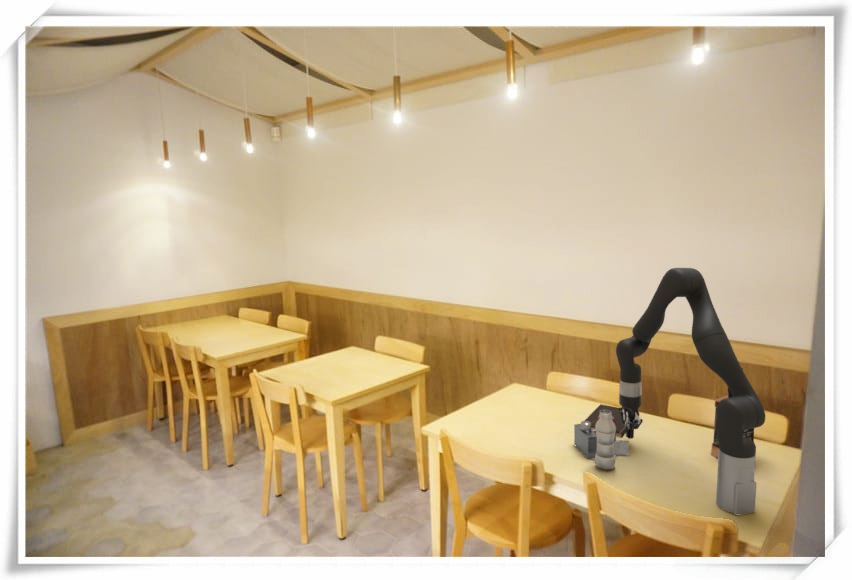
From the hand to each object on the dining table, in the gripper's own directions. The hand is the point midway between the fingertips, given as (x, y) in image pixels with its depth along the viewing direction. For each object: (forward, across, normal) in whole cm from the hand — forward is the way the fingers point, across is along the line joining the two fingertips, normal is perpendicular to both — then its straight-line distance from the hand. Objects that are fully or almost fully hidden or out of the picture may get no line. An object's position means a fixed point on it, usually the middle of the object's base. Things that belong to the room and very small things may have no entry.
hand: (629, 437), depth 200 cm
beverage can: (+3, 0, +9) cm, 10 cm away
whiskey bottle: (+3, -17, -28) cm, 33 cm away
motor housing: (+3, 0, +11) cm, 12 cm away
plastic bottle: (+3, -12, +16) cm, 20 cm away
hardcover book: (+4, +20, -3) cm, 21 cm away
